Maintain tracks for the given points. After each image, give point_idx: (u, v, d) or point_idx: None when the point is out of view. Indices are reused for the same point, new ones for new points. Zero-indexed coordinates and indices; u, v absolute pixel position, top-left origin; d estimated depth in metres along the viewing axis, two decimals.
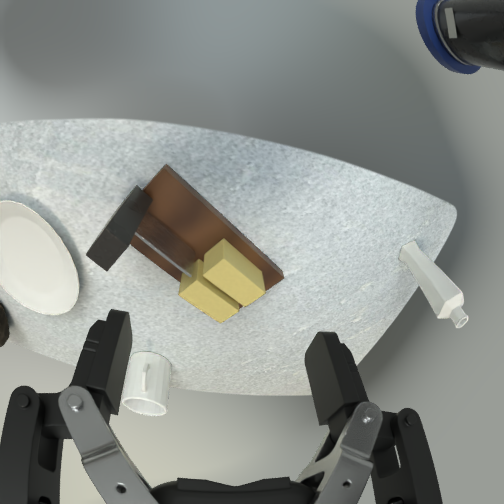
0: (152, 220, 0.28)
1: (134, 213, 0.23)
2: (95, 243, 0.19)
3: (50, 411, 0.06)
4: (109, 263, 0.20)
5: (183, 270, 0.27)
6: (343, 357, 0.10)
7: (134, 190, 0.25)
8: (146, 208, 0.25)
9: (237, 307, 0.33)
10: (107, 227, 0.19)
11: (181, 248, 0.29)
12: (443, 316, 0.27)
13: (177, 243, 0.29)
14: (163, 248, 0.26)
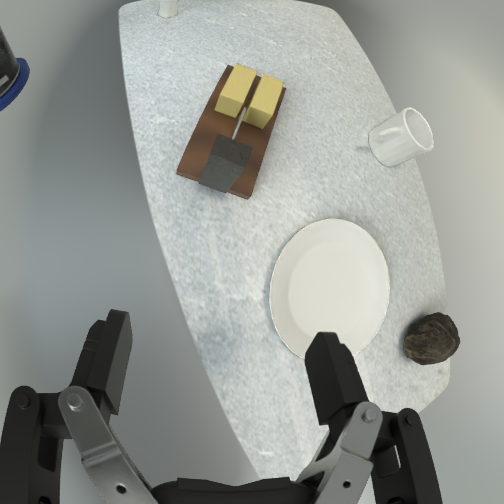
0: None
1: None
2: (228, 159, 0.24)
3: (50, 411, 0.06)
4: (242, 145, 0.25)
5: (242, 113, 0.30)
6: (343, 357, 0.10)
7: (200, 179, 0.31)
8: None
9: (262, 76, 0.33)
10: None
11: (233, 130, 0.33)
12: None
13: None
14: (232, 134, 0.30)
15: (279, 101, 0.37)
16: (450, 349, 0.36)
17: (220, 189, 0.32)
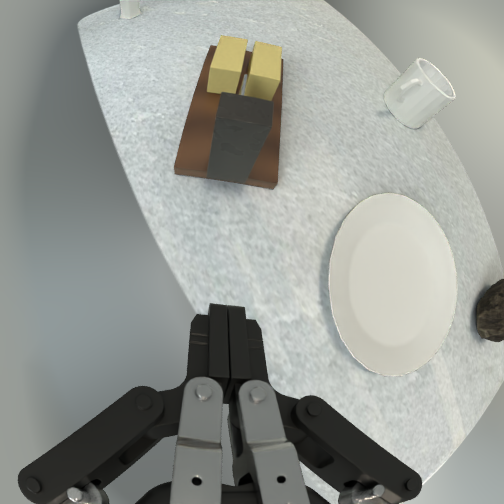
0: None
1: None
2: (245, 120, 0.16)
3: (167, 423, 0.07)
4: (259, 101, 0.16)
5: (244, 81, 0.22)
6: (244, 331, 0.10)
7: (207, 170, 0.23)
8: None
9: (254, 44, 0.25)
10: None
11: None
12: None
13: None
14: None
15: None
16: None
17: (237, 179, 0.24)
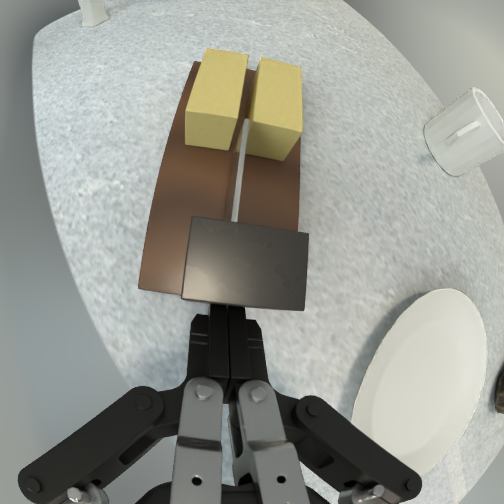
0: None
1: None
2: (247, 302, 0.08)
3: (167, 423, 0.07)
4: (279, 237, 0.08)
5: (244, 133, 0.14)
6: (244, 331, 0.10)
7: None
8: None
9: (259, 63, 0.17)
10: (181, 294, 0.07)
11: (232, 170, 0.17)
12: None
13: (230, 181, 0.17)
14: (233, 186, 0.14)
15: None
16: None
17: None
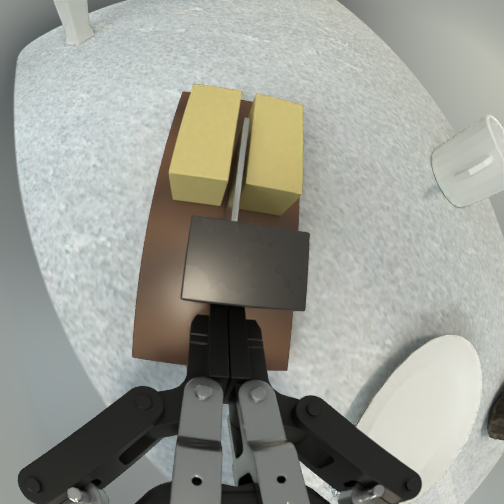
0: None
1: None
2: (247, 302, 0.08)
3: (167, 423, 0.07)
4: (280, 237, 0.08)
5: (244, 132, 0.14)
6: (244, 331, 0.10)
7: None
8: None
9: (254, 100, 0.16)
10: None
11: (232, 170, 0.17)
12: None
13: (230, 180, 0.17)
14: (233, 185, 0.14)
15: None
16: None
17: None
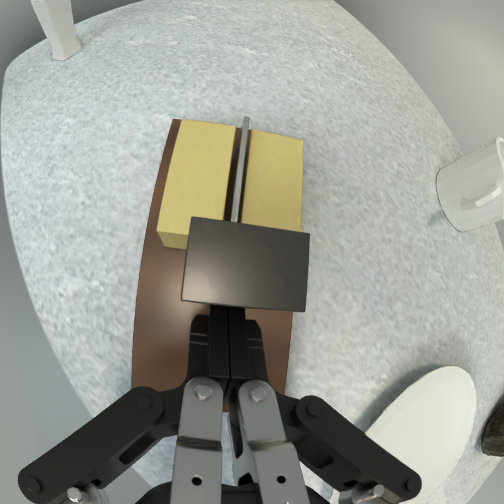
0: None
1: None
2: (247, 303, 0.08)
3: (167, 423, 0.07)
4: (280, 238, 0.08)
5: (244, 131, 0.14)
6: (244, 331, 0.10)
7: None
8: None
9: (249, 136, 0.15)
10: None
11: (232, 169, 0.16)
12: None
13: (230, 180, 0.17)
14: (233, 185, 0.14)
15: None
16: None
17: None
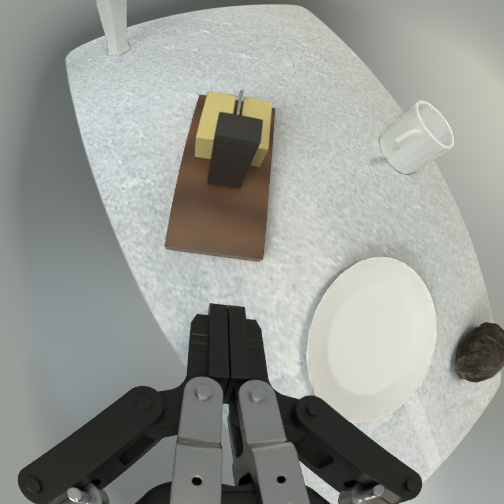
0: None
1: None
2: (238, 136, 0.20)
3: (167, 423, 0.07)
4: (251, 119, 0.20)
5: (240, 96, 0.26)
6: (244, 331, 0.10)
7: None
8: None
9: (243, 100, 0.27)
10: (214, 134, 0.19)
11: None
12: None
13: None
14: None
15: (271, 126, 0.31)
16: (503, 361, 0.26)
17: (233, 184, 0.28)
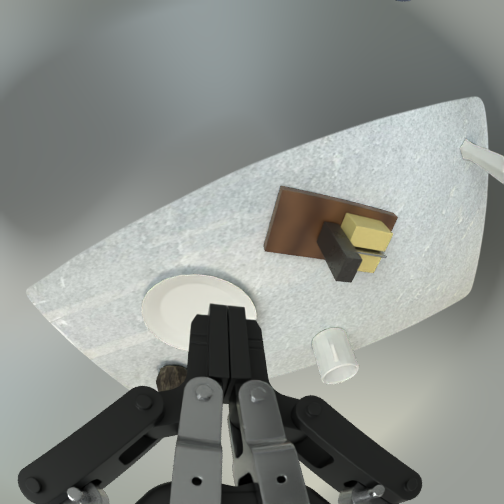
0: None
1: (344, 239, 0.35)
2: (341, 270, 0.32)
3: (167, 423, 0.07)
4: (352, 276, 0.33)
5: (381, 256, 0.38)
6: (244, 331, 0.10)
7: (327, 225, 0.37)
8: (343, 232, 0.37)
9: None
10: (347, 256, 0.31)
11: None
12: None
13: None
14: (363, 250, 0.38)
15: None
16: None
17: (319, 239, 0.39)
